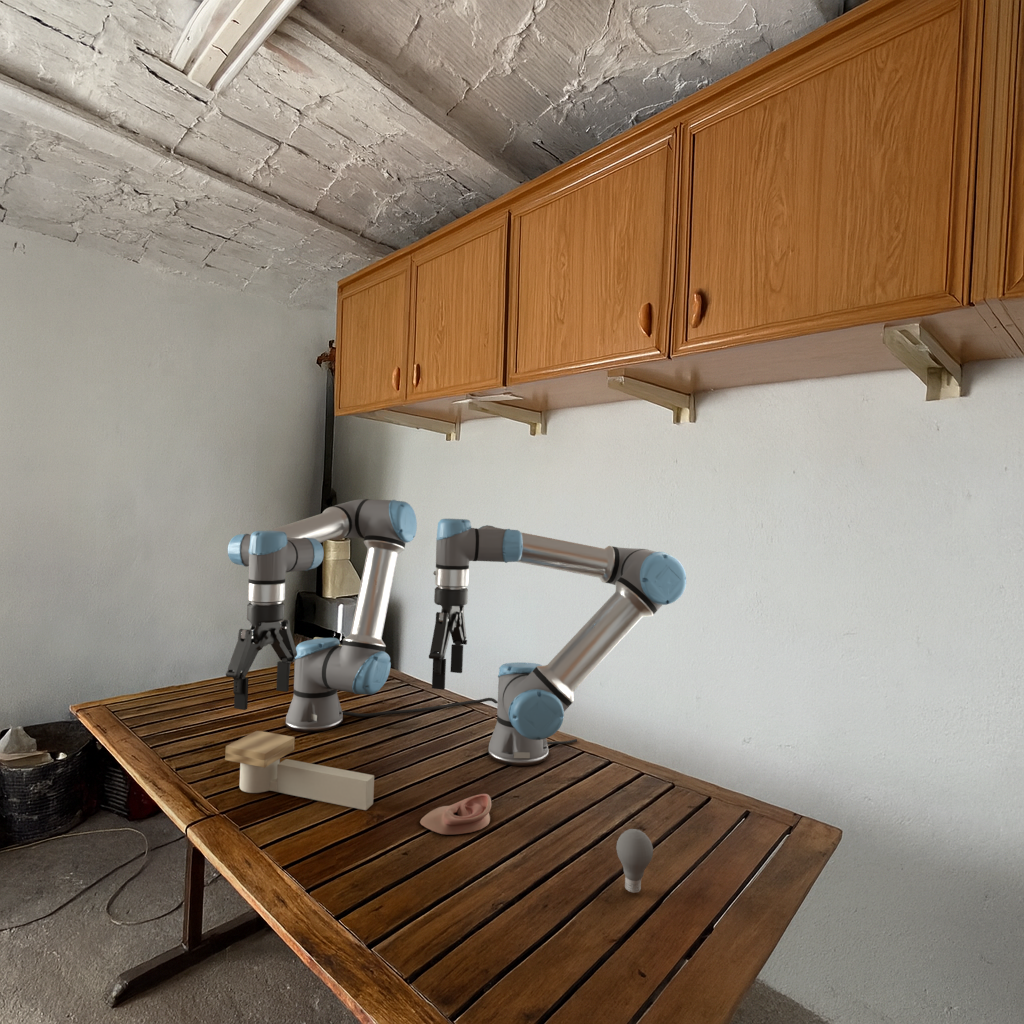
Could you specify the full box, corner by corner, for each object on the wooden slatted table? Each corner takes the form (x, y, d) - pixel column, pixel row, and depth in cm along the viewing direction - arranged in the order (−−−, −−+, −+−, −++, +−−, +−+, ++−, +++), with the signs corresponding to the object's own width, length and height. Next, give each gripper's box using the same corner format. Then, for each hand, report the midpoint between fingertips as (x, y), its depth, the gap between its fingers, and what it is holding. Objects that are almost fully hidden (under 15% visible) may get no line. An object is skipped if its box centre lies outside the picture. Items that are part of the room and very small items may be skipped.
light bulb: (610, 879, 108) (613, 822, 108) (644, 879, 109) (647, 822, 109) (619, 902, 102) (622, 840, 102) (655, 901, 103) (658, 840, 103)
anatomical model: (415, 809, 122) (434, 784, 133) (414, 830, 122) (433, 802, 133) (482, 819, 119) (496, 792, 130) (481, 840, 119) (495, 811, 130)
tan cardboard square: (225, 760, 135) (225, 746, 135) (256, 743, 144) (257, 730, 144) (264, 767, 132) (265, 753, 132) (294, 750, 141) (294, 736, 141)
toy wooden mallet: (231, 789, 135) (232, 752, 135) (256, 774, 143) (257, 739, 143) (359, 816, 126) (361, 776, 126) (379, 798, 134) (380, 761, 134)
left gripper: (287, 593, 150) (284, 682, 151) (209, 609, 126) (205, 714, 127) (314, 596, 148) (311, 686, 149) (240, 612, 124) (236, 720, 125)
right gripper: (451, 579, 156) (448, 664, 157) (416, 593, 132) (412, 694, 132) (481, 581, 155) (477, 667, 155) (451, 595, 130) (447, 698, 131)
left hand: (262, 699), depth 138 cm, fingers open, 13 cm apart
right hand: (447, 680), depth 144 cm, fingers open, 13 cm apart
